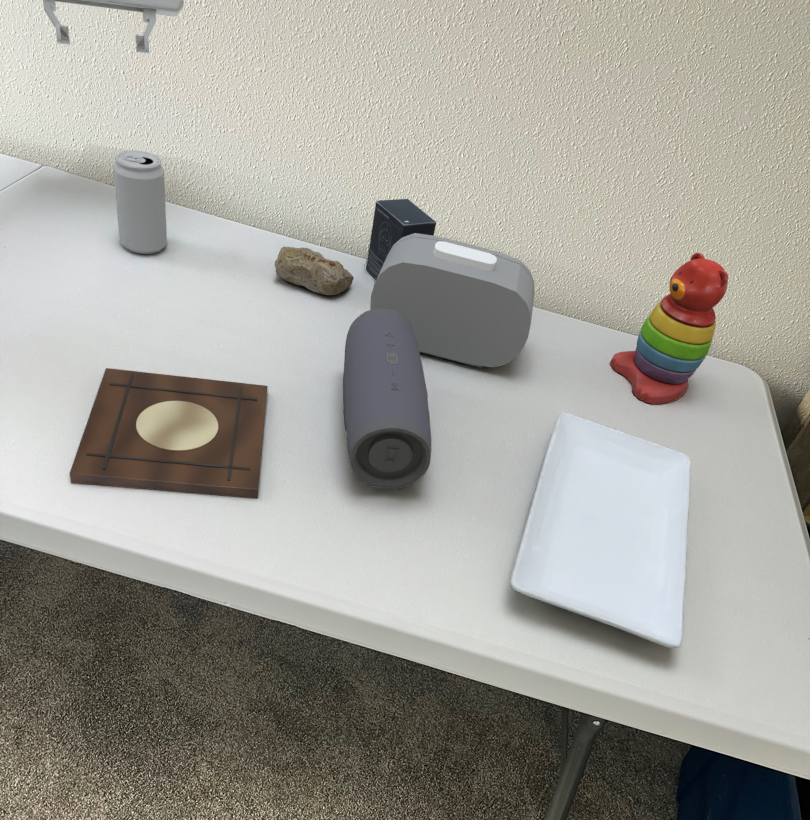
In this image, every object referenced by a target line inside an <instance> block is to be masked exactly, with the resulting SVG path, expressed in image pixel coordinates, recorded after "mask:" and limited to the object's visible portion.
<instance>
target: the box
mask: <svg viewBox="0 0 810 820" xmlns="http://www.w3.org/2000/svg"><path fill="white" fill-rule="evenodd" d="M372 219H373V220H372V227H371V234H370V240H369V245H368V246H369V247H368V253H367V260H366V265H365V270H366V271H367V272H368V273H369V274H370V275H372V277H373V278H375V280H377V277H378V275H379V273H380V271H381V269H382V266H383V264H384V262H385V260H386V257H387V255H388V254H389V252H390V250H391V248H392V246H393V245H394V244H395V243H396V242H397V241H399V240H400V239H401V238H402V237H405V236H408V235H411V234H414V233H418V234H425V235H433V236H435V232H436V227H437V221H436V220H435V219H433V218H432V217H431V216H430V215H428V214H427V213H426V212H424V210H422V209H421V208H420V207H419V206H417V205H416V204H415V203H413V202H412V201H411V200H410V199H409V198H399V199H398V198H397V199H386V200H385V199H381V200H376V201H375V206H374V212H373V218H372Z"/></svg>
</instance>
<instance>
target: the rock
mask: <svg viewBox="0 0 810 820" xmlns="http://www.w3.org/2000/svg"><path fill="white" fill-rule="evenodd" d="M274 267H275V274H276V276H277V277H279V278H280V279H282V280H283V281H285V282H288V283H290V284H293V285H295V286H302V287H305V288H306V289H307V290H309V291H311V292H313V293H316V294H319V295H325V296H335V295H339V294H340V293H343V292H345V291H346V290H347V289H348V288H350V287H351V285H352V284H353V281H354V276H353V274H352V273H350V271H349V270H348V269H346V268H345V267H344V265H343V264H342V263H341V262H340V261H338V260H331V259H329V258H325V257H324V256H323V254H321V252H319V251H314V250H313V249H311V248H308V247H293V246H285V245H284V246H282V247H281V248H280V250H279V251H278V254H277V258H276V260H275V261H274Z"/></svg>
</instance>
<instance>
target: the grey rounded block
mask: <svg viewBox="0 0 810 820" xmlns="http://www.w3.org/2000/svg"><path fill="white" fill-rule="evenodd" d="M534 302H535V280H534V277H533V275H532V272H531V270H530V269H529V268H528V267H527V265H526V264H524V262H523V261H522V260H521V259H519V258H516V257H513V256H511V255H508V254H506V253H503V252H500V251H497V250H493V249H489V248H485V247H482V246H479V245H478V246H477V245H473V244H469V243H465V242H463V241H458V240H454V239H450V238H447V237H442V236H439V235H434V236H433V235H425V234H418V233H414V234H411V235H408V236H405V237H402V238H401V239H400V240H399V241H397V242H396V243H395V244H394V245H393V246H392V248H391V250H390V252H389V254H388V255H387V257H386V260H385V262H384V264H383V266H382V269H381V271H380V273H379V275H378V277H377V279H375V282H374V284H373V287H372V290H371V295H370V303H369V304H370V305H369V310H371V309H376V308H386V309H391V310H394V311H396V312H399V313H400V314H402V315H403V316H404V317H405V318H406V319H407V320H408V322H409V323H410V325H411V327H412V329H413V331H414V334H415V337H416V340H417V343H418V348H419V352H420V354H425V355H428V356H429V355H430V356H433V357H437V358H441V359H444V360H448V361H453V362H457V363H460V364H465V365H466V366H467V365H469V366H472V367H476V368H479V369H482V368H483V367H488V368H496V367H500V366H504V365H507V364H509V363H510V362H511V361H513V360H514V359H516V358H517V357H518V356H519V355H520V353H521V351H522V350H523V349H524V348H525V345H526V343H527V341H528V338H529V335H530V331H531V330H530V329H531V326H532V316H533V309H534Z"/></svg>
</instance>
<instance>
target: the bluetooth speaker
mask: <svg viewBox="0 0 810 820" xmlns="http://www.w3.org/2000/svg"><path fill="white" fill-rule="evenodd" d="M344 345H345V346H344V359H343V373H342V375H343V379H342V401H343V423H344V430H345V435H346V444H347V445H346V448H347V452H348V459H349V461H350V462H349V463H350V466H351V469H352V471H353V473H354V475H355V476H356V477H357V478H358V480H360V481H361V482H362V483H364V484H366V485H368V486H369V487H373V488H380V489H391V490H392V489H393V490H394V489H403V488H406V487H409V486H411V485H413V484H415V483H416V482H418V481H419V480H420V479H422V477H423V476H425V474H426V473H427V471H428V470H429V467H430V465H431V459H432V458H431V457H432V433H431V420H430V419H431V417H430V409H429V399H428V398H429V395H428V389H427V385H426V378H425V372H424V369H423V368H424V366H423V363H422V357H421V352H419V348H418V343H417V340H416V337H415V334H414V331H413V329H412V327H411V325H410V323H409V322H408V320H407V319H406V318H405V317H404V316H403V315H402V314H400V313H399V312H396V311H394V310H391V309H386V308H376V309H371V310H370V309H368V310H365V311H364V312H363V313H361V314H359V316H357V317H356V318H355V319H354V321H352V323H351V325H350V326H349V328H348V330H347V334H346V339H345V344H344Z"/></svg>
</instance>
